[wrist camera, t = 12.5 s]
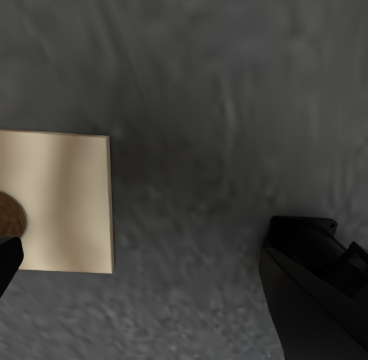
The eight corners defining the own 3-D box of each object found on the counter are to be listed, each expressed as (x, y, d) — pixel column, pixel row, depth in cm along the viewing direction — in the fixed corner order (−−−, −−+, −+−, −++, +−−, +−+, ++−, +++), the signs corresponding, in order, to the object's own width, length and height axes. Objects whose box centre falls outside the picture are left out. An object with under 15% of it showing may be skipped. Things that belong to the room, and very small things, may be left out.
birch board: (109, 136, 20) (105, 137, 19) (114, 266, 25) (111, 273, 24) (-132, 119, 19) (-148, 120, 18) (-79, 257, 24) (-90, 264, 23)
